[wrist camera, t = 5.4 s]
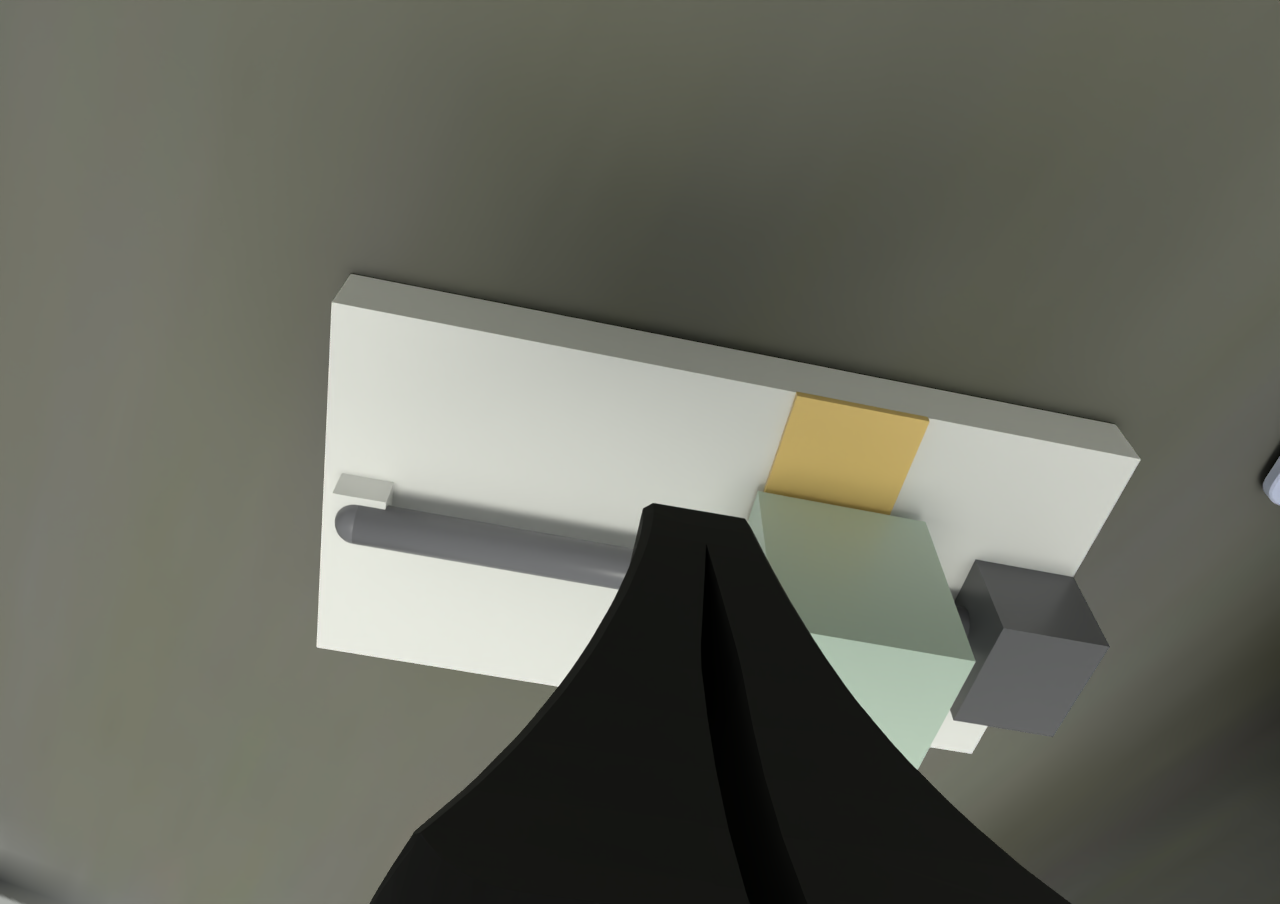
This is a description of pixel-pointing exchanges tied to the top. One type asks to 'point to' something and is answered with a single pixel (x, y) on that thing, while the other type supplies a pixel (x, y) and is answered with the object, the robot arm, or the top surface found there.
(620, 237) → the top surface
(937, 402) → the board
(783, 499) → the pale green notched block
